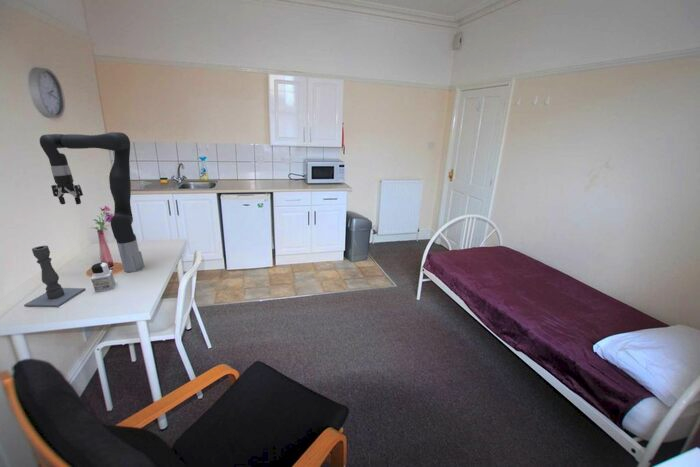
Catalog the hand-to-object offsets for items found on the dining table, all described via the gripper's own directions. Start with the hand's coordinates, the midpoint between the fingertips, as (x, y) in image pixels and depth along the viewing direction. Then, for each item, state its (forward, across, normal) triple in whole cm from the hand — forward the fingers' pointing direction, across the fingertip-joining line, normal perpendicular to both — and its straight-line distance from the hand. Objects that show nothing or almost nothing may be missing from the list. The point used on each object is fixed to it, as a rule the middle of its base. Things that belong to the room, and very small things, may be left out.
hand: (71, 204), depth 179 cm
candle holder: (+37, -10, +33) cm, 51 cm away
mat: (+38, -10, +33) cm, 51 cm away
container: (+38, -26, +22) cm, 51 cm away
